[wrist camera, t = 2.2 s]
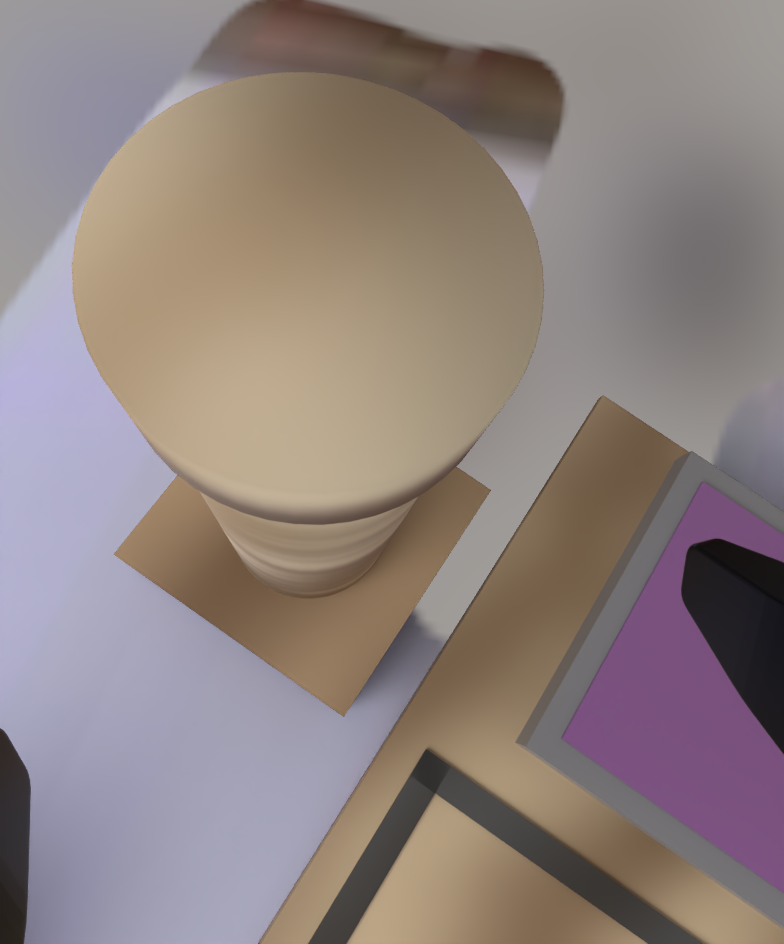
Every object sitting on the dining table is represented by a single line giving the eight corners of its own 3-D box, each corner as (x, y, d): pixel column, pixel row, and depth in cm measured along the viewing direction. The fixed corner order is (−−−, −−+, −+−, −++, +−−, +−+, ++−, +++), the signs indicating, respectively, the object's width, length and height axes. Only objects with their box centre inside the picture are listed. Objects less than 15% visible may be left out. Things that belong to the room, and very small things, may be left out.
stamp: (470, 509, 22) (784, 211, 8) (339, 710, 20) (422, 827, 6) (283, 382, 22) (241, -133, 8) (136, 567, 20) (-274, 331, 6)
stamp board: (972, 647, 23) (986, 647, 22) (594, 1626, 16) (603, 1656, 15) (598, 399, 23) (604, 394, 23) (79, 1229, 16) (72, 1246, 16)
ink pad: (950, 642, 22) (982, 641, 21) (824, 958, 19) (855, 975, 18) (675, 459, 23) (693, 450, 22) (514, 742, 20) (526, 746, 19)
